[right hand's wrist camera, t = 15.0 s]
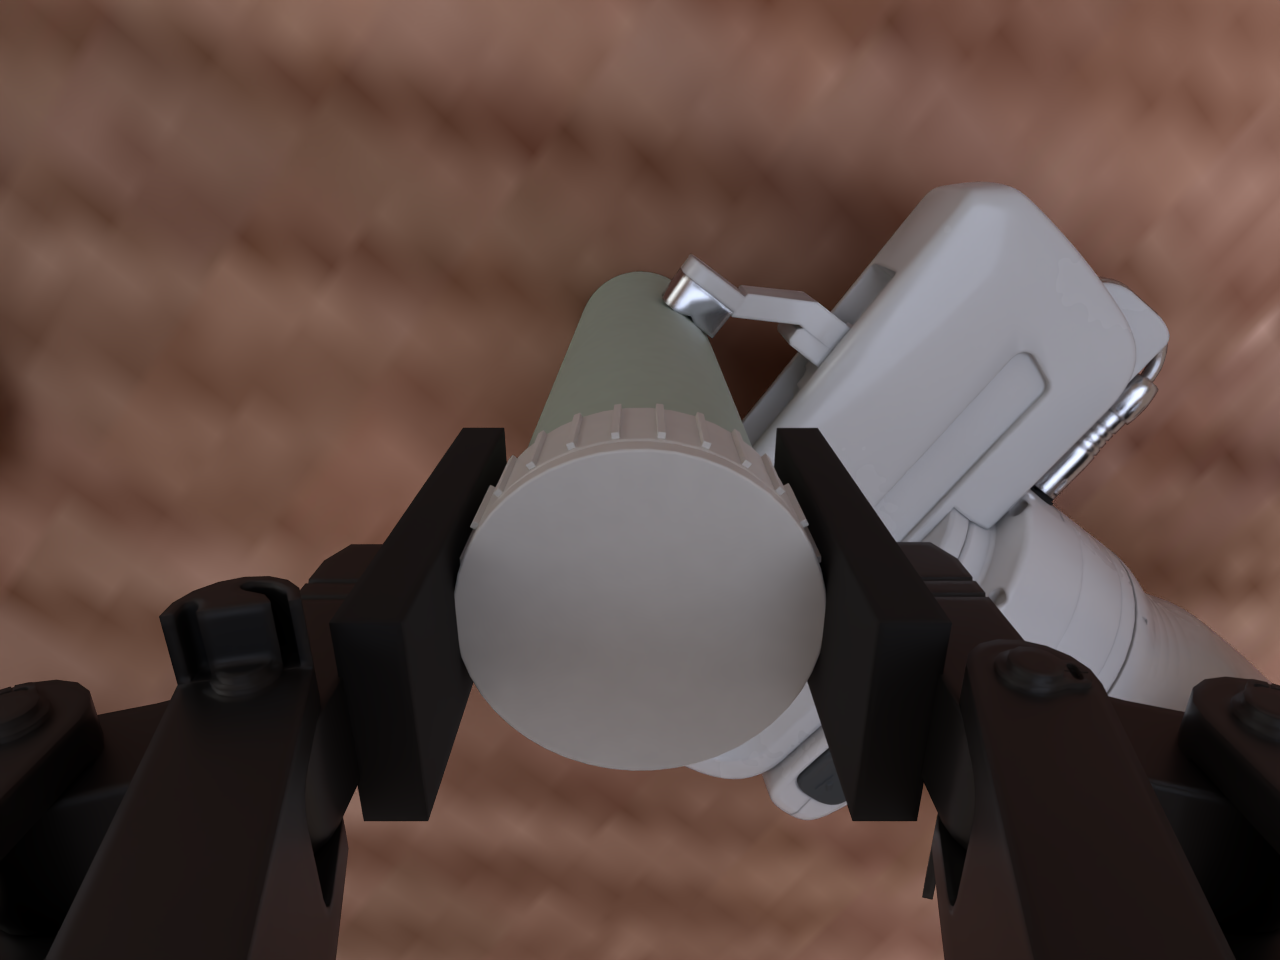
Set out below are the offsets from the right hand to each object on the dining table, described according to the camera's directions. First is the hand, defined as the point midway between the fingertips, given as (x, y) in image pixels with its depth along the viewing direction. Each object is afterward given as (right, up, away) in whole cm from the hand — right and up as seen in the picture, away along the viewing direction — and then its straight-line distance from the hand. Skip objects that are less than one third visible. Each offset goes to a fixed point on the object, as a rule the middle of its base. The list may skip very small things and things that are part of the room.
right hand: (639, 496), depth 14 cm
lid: (0, -2, -4) cm, 4 cm away
